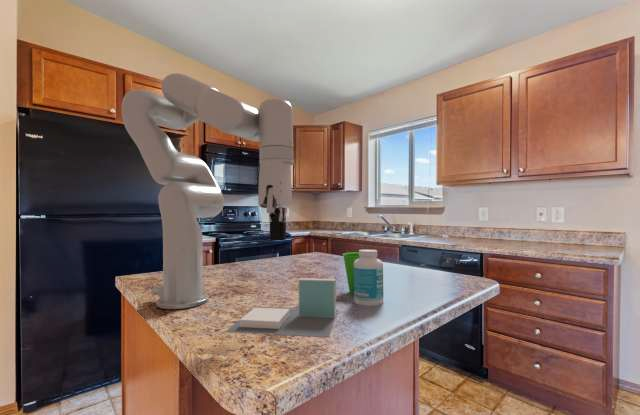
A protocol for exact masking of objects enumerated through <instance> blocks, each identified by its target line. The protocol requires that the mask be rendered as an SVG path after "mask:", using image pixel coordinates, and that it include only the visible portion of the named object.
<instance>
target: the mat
mask: <svg viewBox="0 0 640 415" xmlns="http://www.w3.org/2000/svg"><path fill="white" fill-rule="evenodd" d="M254 308H278V309H290V316H289V317H288V318H287V319H286V321H285V322H284V323H283V325H282V326H281V327H280V328H279V329H258V328H241V327H240V319H239V320H238V321H237V322H235V323H234V324H233V325H232V326H230V327H229V328H228V329H227V330H226V331H225V333H238V334H239V333H240V334H257V335H258V334H259V335H275V336H293V337H298V336H299V337H315V338H330V335H331V332H332V330H333V327H334V323H335V320H336V317H337V315H338V312H339V309H336V317H335V318H324V317H301V316H299V307H296V308H294V307H273V306H270V307H269V306H255V307H254ZM254 308H252V309H254ZM248 313H249V312H247V313H246V314H248Z"/></svg>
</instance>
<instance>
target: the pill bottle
mask: <svg viewBox="0 0 640 415" xmlns="http://www.w3.org/2000/svg"><path fill="white" fill-rule="evenodd" d="M358 252H359V256H360V258H359V259H357V260H355V261H354V294H353V302H354V303H356V304H357V305H360V306H365V307H366V306H371V307H372V306H380V305H382V304H383V303H384V263H383V261H382V260H381V259H379V258H378V250H377V249H359V250H358Z"/></svg>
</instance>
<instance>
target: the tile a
mask: <svg viewBox="0 0 640 415" xmlns="http://www.w3.org/2000/svg"><path fill="white" fill-rule="evenodd" d="M278 308H279V307H276V308H255V307H254V309H253V308H252V309H251V310H250V311H249V312H247V313H248V314H247V313H246V314H245V315H244V316H243V317H242V318H241V317H240V319H239V320H240V327H241V328H258V329H279V328H280V327H281V326H282V325H283V323H284V322H285V321H286V319H287V318H288V317H289V316H290V309H278Z"/></svg>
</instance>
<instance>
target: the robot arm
mask: <svg viewBox="0 0 640 415" xmlns="http://www.w3.org/2000/svg"><path fill="white" fill-rule="evenodd" d="M160 87H161V88H160V89H161V92H162V94H163V95H162V94H160V93H156V92H153V91H150V90H146V89H138V88H136V89H132V90H130V91H128V92H126V93H125V95H124V96H123V99H122V102H121V111H120V112H121V118H122V123H123V125H124V127H125V129H126V131H127V133H128V135H129V136H130V138H131V139H132V140H133V142H134V144H135V145H136V146H137V148H138V150H139V153H140V155H141V157H142V160H144V163H145V165H146V167H147V169H148V171H149V173H150V175H151V177H152V179H153V180H154V182H156V183H157V184H159V185H162V186H163V187H162V188H161V189H160V191H159V193H158V198H157V201H158V209H159V211H160V215H161V216H160V218H161V224H162V226H161V227H162V261H163V262H162V277H163V278H162V285H154V286H153V287H152V289H151V290H150V295H155V296H156V295H158V296H159V298H158V299H157V300H156V302H155V303H156V304H155V305H156V307H158V308H160V309H164V310H181V309H188V308H193V307H194V308H195V307H197V306H201V305H203V304H206V303H207V302H208V301H209V299H210V295H209V294H208V293H206V292H204V290H203V289H204V288H203V286H204V284H203V282H204V281H203V280H204V276H203V272H204V270H203V269H204V268H203V266H204V265H203V261H204V260H203V258H204V257H203V231H202V228H201V226H200V224H199V222H198V220H197V219H201V218H202V219H205V218H213V217H216V216H218V215H219V214H221V212H222V211H223V209H224V205H225V204H224V202H225V200H224V198H225V197H224V195H223V193H222V190H221V188H220V186H219V184H218V182H217V180H216V179H215V177H214V176H213V173H212V171H211V169H210V168H209V166H208V165H207V163H206V162H205V161H204V160H203V159H201V158H200V157H198V156H194V155H191V154H186V153H182V152H180V151H178V150H177V148H176V147H175V145H174V144H173V143H172V140H171V138H170V137H169V136H168V135H167V133H166V132H165V131H164V130H163V129H162V128H161V127H164V128H167V129H170V130H174V131H175V130H176V131H179V130H184V129H186V128H188V127H190V126H192V125H193V124H195V123H197V122H199V121H201V122H203V123H205V124H206V125H209V126H210V127H212V128H215V129H217V130H219V131H221V132H223V133H226V134H229V135H233V136H236V137H239V138H241V139H244V140H248V141H250V142H254V143H257V142H259V174H258V175H259V176H258V198H257V199H258V203H257V204H258V206H259V208H261V209H262V208H263V209H266V213H267V214H268V221H269V239H270V241H285V240H286V239H287V231H286V230H287V226H286V225H287V222H286V221H287V213H288V209H289V208H290V207H291V206H292V204H293V189H292V173H291V166H292V165H293V166H294V165H295V162H294V161H295V160H294V155H295V154H294V111H293V110H294V109H293V106H292V105H291V103H290V102H289V101H287V100H285V99H281V98H270V99H265V100H263V101H262V102H260V104H259V107H258V108H256V107H254V106H252V105H250V104H248V103H245V102H244V101H241V100H239V99H237V98H235V97H232V96H230V95H228V94H225V93H223V92H221V91H219V90H218V89H217V88H215V87H214V86H212V85H209V84H206V83H204V82H202V81H199V80H197V79H195V78H193V77H190V76H188V75H186V74H182V73H179V72H178V73H177V72H176V73H169V74H168V75H166V76H165V77H164V78H163V79H162V81H161V86H160Z"/></svg>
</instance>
